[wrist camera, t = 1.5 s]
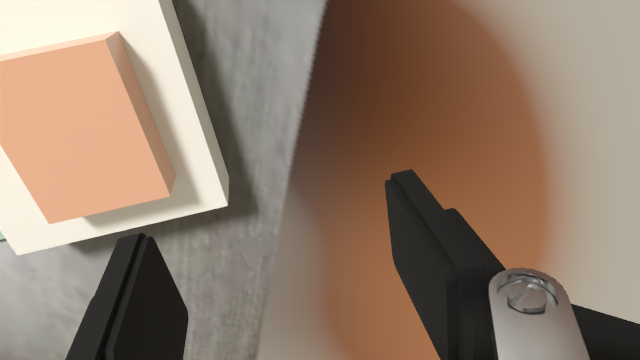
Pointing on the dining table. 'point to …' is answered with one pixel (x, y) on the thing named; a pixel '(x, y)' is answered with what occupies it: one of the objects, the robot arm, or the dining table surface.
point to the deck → (163, 101)
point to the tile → (81, 128)
